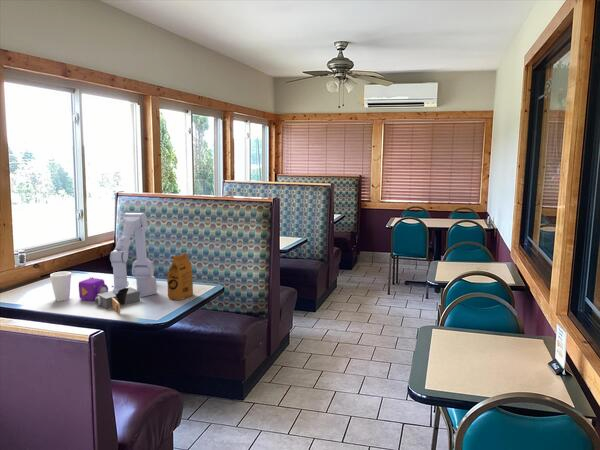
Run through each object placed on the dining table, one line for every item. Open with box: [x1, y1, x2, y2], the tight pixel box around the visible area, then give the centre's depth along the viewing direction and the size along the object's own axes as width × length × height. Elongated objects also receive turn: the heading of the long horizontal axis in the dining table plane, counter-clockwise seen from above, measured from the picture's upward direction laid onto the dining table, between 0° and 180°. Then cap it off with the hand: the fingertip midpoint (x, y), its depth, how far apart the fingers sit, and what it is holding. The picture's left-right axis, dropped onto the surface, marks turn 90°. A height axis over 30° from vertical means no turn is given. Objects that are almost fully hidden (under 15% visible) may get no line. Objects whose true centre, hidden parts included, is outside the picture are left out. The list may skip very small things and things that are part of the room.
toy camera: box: [78, 276, 109, 302], centre depth 256 cm, size 11×14×10 cm
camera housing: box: [94, 286, 141, 310], centre depth 249 cm, size 19×10×6 cm, turn 134°
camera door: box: [112, 298, 121, 314], centre depth 237 cm, size 11×1×4 cm, turn 34°
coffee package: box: [166, 252, 194, 301], centre depth 257 cm, size 10×12×22 cm
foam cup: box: [49, 271, 72, 302], centre depth 255 cm, size 10×9×13 cm
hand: (122, 304), depth 236 cm, fingers closed
